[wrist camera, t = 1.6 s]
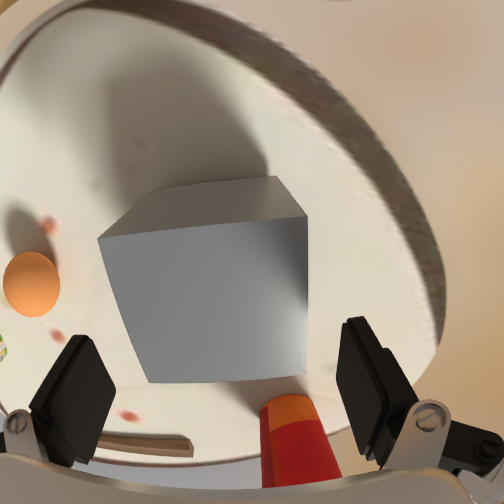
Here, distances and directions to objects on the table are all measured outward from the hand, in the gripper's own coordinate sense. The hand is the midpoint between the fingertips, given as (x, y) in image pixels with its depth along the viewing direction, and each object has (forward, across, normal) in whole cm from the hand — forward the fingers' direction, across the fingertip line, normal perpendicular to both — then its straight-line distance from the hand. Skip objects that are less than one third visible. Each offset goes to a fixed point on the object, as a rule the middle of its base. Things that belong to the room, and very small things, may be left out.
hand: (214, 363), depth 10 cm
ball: (+8, +15, 0) cm, 17 cm away
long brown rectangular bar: (+11, +15, +23) cm, 30 cm away
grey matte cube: (+11, 0, -1) cm, 11 cm away
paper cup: (+11, -4, +18) cm, 22 cm away
